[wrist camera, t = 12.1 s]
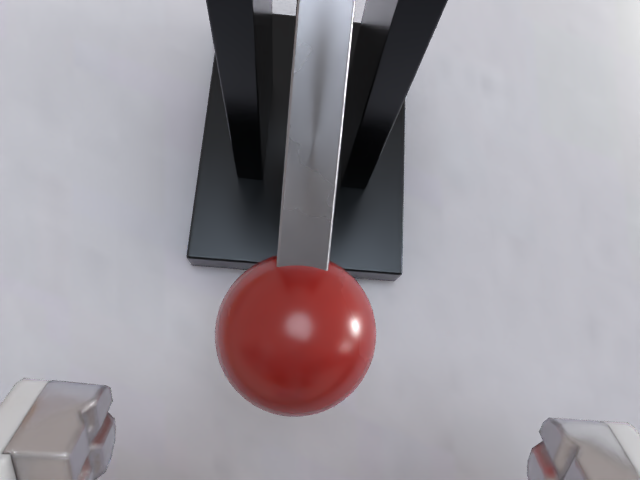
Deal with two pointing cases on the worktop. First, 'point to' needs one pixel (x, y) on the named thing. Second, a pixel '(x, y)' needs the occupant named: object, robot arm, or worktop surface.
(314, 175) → the lever
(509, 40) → the worktop surface
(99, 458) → the robot arm
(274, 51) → the bracket
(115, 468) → the worktop surface
